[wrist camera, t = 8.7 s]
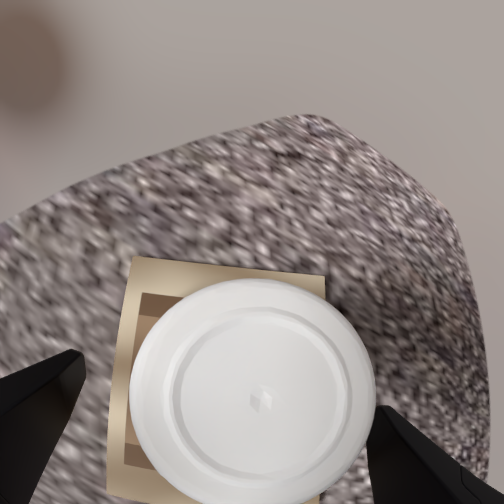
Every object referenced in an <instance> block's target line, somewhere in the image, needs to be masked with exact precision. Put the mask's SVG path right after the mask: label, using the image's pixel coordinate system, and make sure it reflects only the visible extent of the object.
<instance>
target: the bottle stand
mask: <svg viewBox="0 0 504 504" xmlns="http://www.w3.org/2000/svg"><path fill="white" fill-rule="evenodd" d="M245 278H259V279H273V280H277V281H282V282H287V283H290V284H292V285H295V286H298V287H301V288H303V289H306V290H308V291H310V292H312V293H314V294H316V295H317V296H319V297H321V298H322V299H324V300H325V276H317V275H307V274H297V273H286V272H276V271H266V270H257V269H247V268H237V267H228V266H219V265H209V264H200V263H191V262H182V261H174V260H165V259H156V258H148V257H139V256H133V259H132V263H131V268H130V273H129V277H128V282H127V287H126V292H125V297H124V303H123V308H122V314H121V320H120V326H119V332H118V338H117V345H116V352H115V360H114V368H113V376H112V385H111V396H110V407H109V421H108V438H107V494H110V495H113V496H117V497H121V498H126V499H130V500H135V501H140V502H145V503H150V504H203V503H200V502H198V501H196V500H194V499H192V498H190V497H189V496H187V495H185V494H184V493H182V492H181V491H179V490H178V489H176V488H175V487H174V486H173V485H171V484H170V483H169V482H168V481H167V480H166V479H165V478H164V477H163V476H161V475H160V474H159V472H158V471H157V470H156V469H155V467H154V466H153V465H152V463H151V462H150V460H149V459H148V457H147V456H146V454H145V452H144V451H143V449H142V447H141V445H140V443H139V440H138V438H137V436H136V433H135V430H134V426H133V423H132V419H131V412H130V404H129V385H130V379H131V373H132V369H133V366H134V362H135V359H136V356H137V354H138V352H139V350H140V347H141V345H142V343H143V341H144V339H145V338H146V336H147V334H148V333H149V331H150V330H151V329H152V327H153V326H154V325H155V324H156V322H157V321H158V320H159V319H160V318H161V317H162V316H163V315H164V314H165V313H166V312H167V311H168V310H169V309H170V308H171V307H173V306H174V305H175V304H176V303H178V302H179V301H181V300H182V299H183V298H185V297H187V296H189V295H191V294H193V293H195V292H197V291H199V290H201V289H203V288H205V287H207V286H211V285H214V284H217V283H220V282H224V281H230V280H236V279H245ZM319 498H320V494H319V495H317V496H315V497H314V498H312V499H310V500H308V501H306V502H304V503H301V504H319Z"/></svg>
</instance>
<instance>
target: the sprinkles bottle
mask: <svg viewBox="0 0 504 504" xmlns="http://www.w3.org/2000/svg"><path fill="white" fill-rule="evenodd" d="M129 404H130V412H131V419H132V423H133V426H134V430H135V433H136V436H137V438H138V440H139V443H140V445H141V447H142V449H143V451H144V452H145V454H146V456H147V457H148V459H149V460H150V462H151V463H152V465H153V466H154V467H155V469H156V470H157V471H158V472H159V474H160V475H161V476H163V477H164V478H165V479H166V480H167V481H168V482H169V483H170V484H171V485H173V486H174V487H175V488H176V489H178V490H179V491H181V492H182V493H184V494H185V495H187V496H189V497H190V498H192V499H194V500H196V501H198V502H200V503H203V504H301V503H304V502H306V501H308V500H310V499H312V498H314V497H315V496H317V495H319V494H320V493H322V492H324V491H325V490H326V489H328V488H329V487H331V486H332V485H333V484H334V483H336V482H337V481H338V480H339V479H340V478H341V477H342V476H343V475H344V474H345V473H346V471H347V470H348V469H349V468H350V467H351V466H352V464H353V463H354V461H355V460H356V459H357V457H358V456H359V454H360V452H361V450H362V449H363V447H364V445H365V443H366V441H367V438H368V435H369V433H370V430H371V427H372V423H373V419H374V413H375V406H376V386H375V378H374V372H373V367H372V364H371V361H370V358H369V355H368V352H367V350H366V348H365V346H364V344H363V342H362V340H361V339H360V337H359V335H358V333H357V332H356V330H355V329H354V328H353V326H352V325H351V324H350V323H349V321H348V320H347V319H346V318H345V317H344V316H343V315H342V314H341V313H340V312H339V311H338V310H337V309H335V308H334V307H333V306H332V305H331V304H329V303H328V302H326V301H325V300H324V299H322V298H321V297H319V296H317V295H316V294H314V293H312V292H310V291H308V290H306V289H303V288H301V287H298V286H295V285H292V284H290V283H287V282H282V281H277V280H273V279H259V278H245V279H236V280H230V281H224V282H220V283H217V284H214V285H211V286H207V287H205V288H203V289H201V290H199V291H197V292H195V293H193V294H191V295H189V296H187V297H185V298H183V299H182V300H181V301H179V302H178V303H176V304H175V305H174V306H173V307H171V308H170V309H169V310H168V311H167V312H166V313H165V314H164V315H163V316H162V317H161V318H160V319H159V320H158V321H157V322H156V324H155V325H154V326H153V327H152V329H151V330H150V331H149V333H148V334H147V336H146V338H145V339H144V341H143V343H142V345H141V347H140V350H139V352H138V354H137V356H136V359H135V362H134V366H133V369H132V373H131V379H130V385H129Z"/></svg>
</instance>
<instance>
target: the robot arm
mask: <svg viewBox="0 0 504 504" xmlns="http://www.w3.org/2000/svg"><path fill="white" fill-rule="evenodd" d="M85 379H86V368H85V360H84V355H83V353H82V352H79V351H77V350H74V349H69V350H66V351H64V352H62V353H59V354H57V355H55V356H52V357H50V358H48V359H45V360H43V361H41V362H38V363H36V364H34V365H31V366H29V367H27V368H24V369H22V370H20V371H17V372H15V373H12V374H10V375H8V376H5V377H3V378H1V379H0V504H29V502H30V500H31V497H32V495H33V493H34V491H35V488H36V486H37V484H38V482H39V479H40V477H41V475H42V473H43V471H44V469H45V467H46V465H47V463H48V460H49V458H50V456H51V454H52V452H53V450H54V448H55V446H56V444H57V442H58V440H59V438H60V436H61V434H62V433H63V431H64V429H65V427H66V425H67V423H68V421H69V419H70V417H71V414H72V412H73V409H74V406H75V404H76V401H77V399H78V396H79V394H80V391H81V389H82V386H83V384H84V381H85ZM366 446H367V460H368V469H369V475H370V481H371V486H372V492H373V498H374V504H504V494H502V493H500V492H499V491H497V490H495V489H494V488H492V487H491V486H489V485H488V484H486V483H485V482H483V481H482V480H480V479H479V478H477V477H476V476H475V475H473V474H472V473H471V472H469V471H468V470H467V469H466V468H464V467H463V466H462V465H460V464H459V463H458V462H457V461H456V460H454V459H453V458H452V457H451V456H450V455H448V454H447V453H446V452H445V451H443V450H442V449H441V448H440V447H439V446H437V445H436V444H435V443H434V442H432V441H431V440H430V439H429V438H428V437H426V436H425V435H424V434H423V433H422V432H420V431H419V430H418V429H417V428H416V427H414V426H413V425H412V424H411V423H410V422H408V421H407V420H406V419H405V418H404V417H402V416H401V415H400V414H399V413H398V412H396V411H395V410H394V409H393V408H392V407H390V406H388V405H379V406H377V407H376V408H375V413H374V419H373V423H372V427H371V430H370V433H369V435H368V438H367V441H366Z"/></svg>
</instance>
